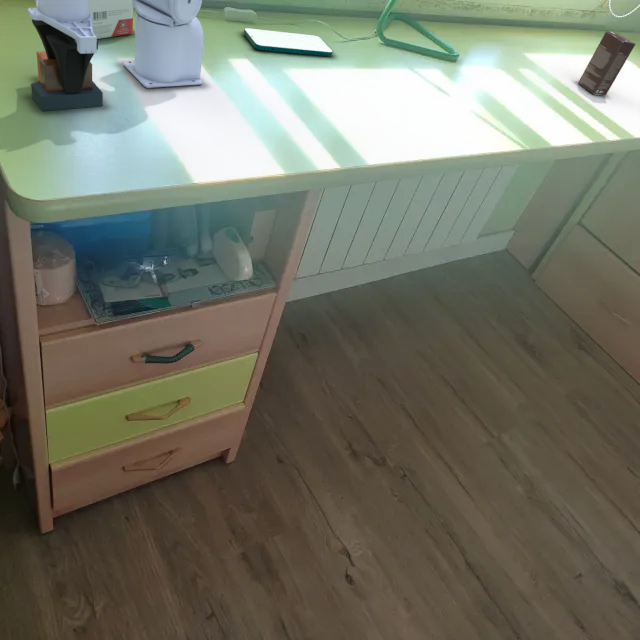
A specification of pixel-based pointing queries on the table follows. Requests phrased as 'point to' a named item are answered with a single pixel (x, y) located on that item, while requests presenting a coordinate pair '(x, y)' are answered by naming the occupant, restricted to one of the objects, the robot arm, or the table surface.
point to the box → (606, 63)
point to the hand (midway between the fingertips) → (67, 84)
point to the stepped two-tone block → (54, 96)
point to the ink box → (111, 17)
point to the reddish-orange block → (39, 56)
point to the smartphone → (287, 42)
